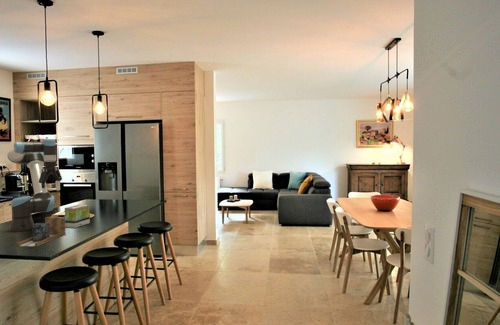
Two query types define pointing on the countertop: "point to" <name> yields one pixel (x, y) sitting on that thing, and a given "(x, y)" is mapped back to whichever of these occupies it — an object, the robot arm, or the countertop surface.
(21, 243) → the track
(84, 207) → the tea box
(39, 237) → the box
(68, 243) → the countertop surface
